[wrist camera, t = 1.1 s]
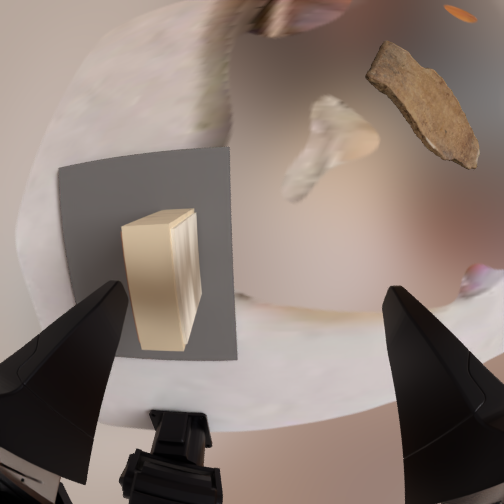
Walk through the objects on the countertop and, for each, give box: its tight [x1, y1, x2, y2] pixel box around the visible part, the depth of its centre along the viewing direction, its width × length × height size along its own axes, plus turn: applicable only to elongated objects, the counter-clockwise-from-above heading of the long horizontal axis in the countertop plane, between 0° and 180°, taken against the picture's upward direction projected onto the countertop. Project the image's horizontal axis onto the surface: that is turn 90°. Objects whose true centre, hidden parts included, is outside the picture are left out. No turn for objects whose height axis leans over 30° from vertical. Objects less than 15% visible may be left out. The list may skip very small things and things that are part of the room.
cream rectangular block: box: [121, 208, 202, 351], centre depth 17 cm, size 7×3×8 cm, turn 1°
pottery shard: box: [366, 41, 480, 169], centre depth 19 cm, size 8×3×15 cm
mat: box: [59, 147, 237, 361], centre depth 22 cm, size 18×15×1 cm
